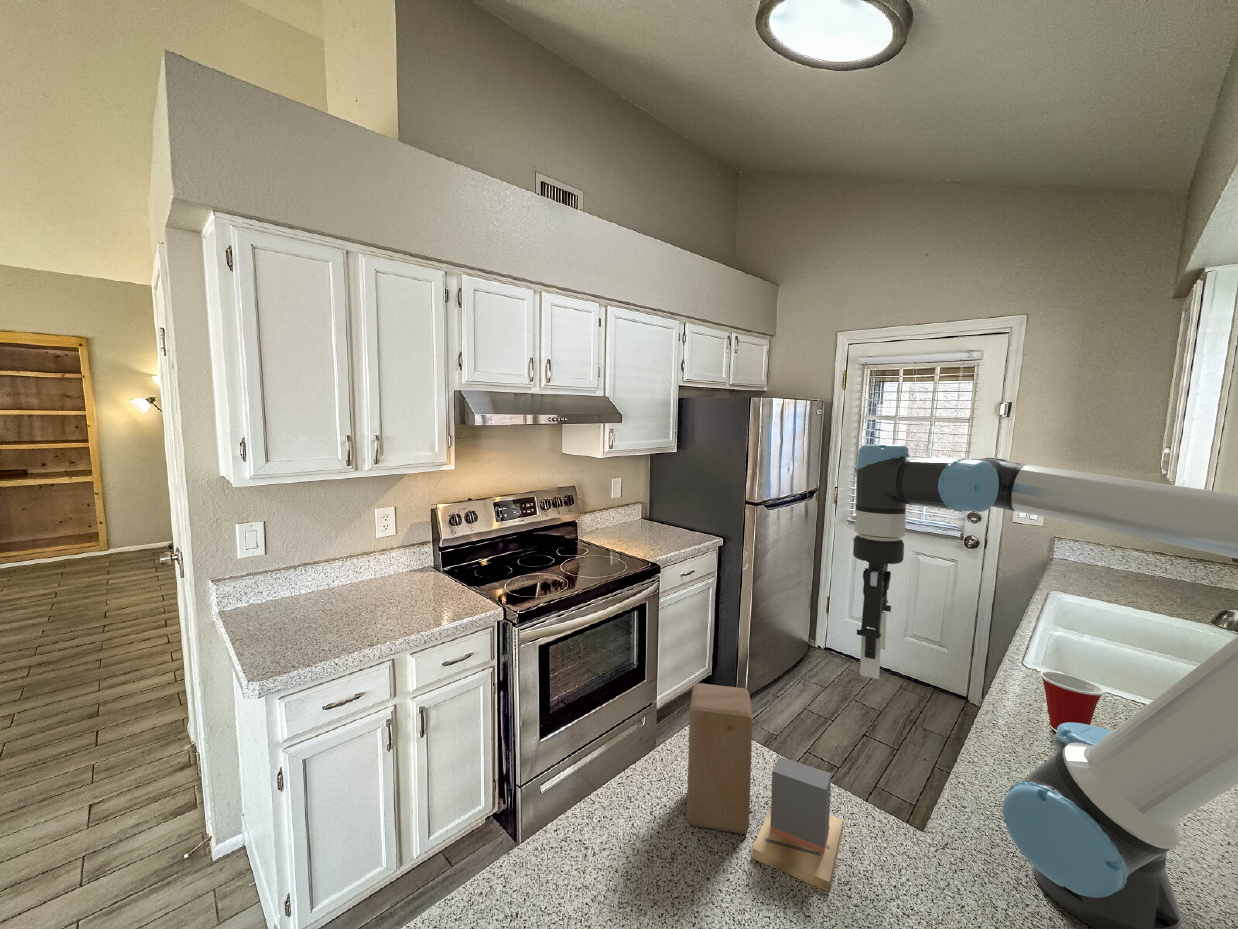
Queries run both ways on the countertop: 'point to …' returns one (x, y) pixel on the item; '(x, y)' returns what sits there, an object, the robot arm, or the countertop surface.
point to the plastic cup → (1070, 698)
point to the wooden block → (719, 758)
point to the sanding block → (800, 804)
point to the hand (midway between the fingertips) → (873, 661)
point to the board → (799, 854)
